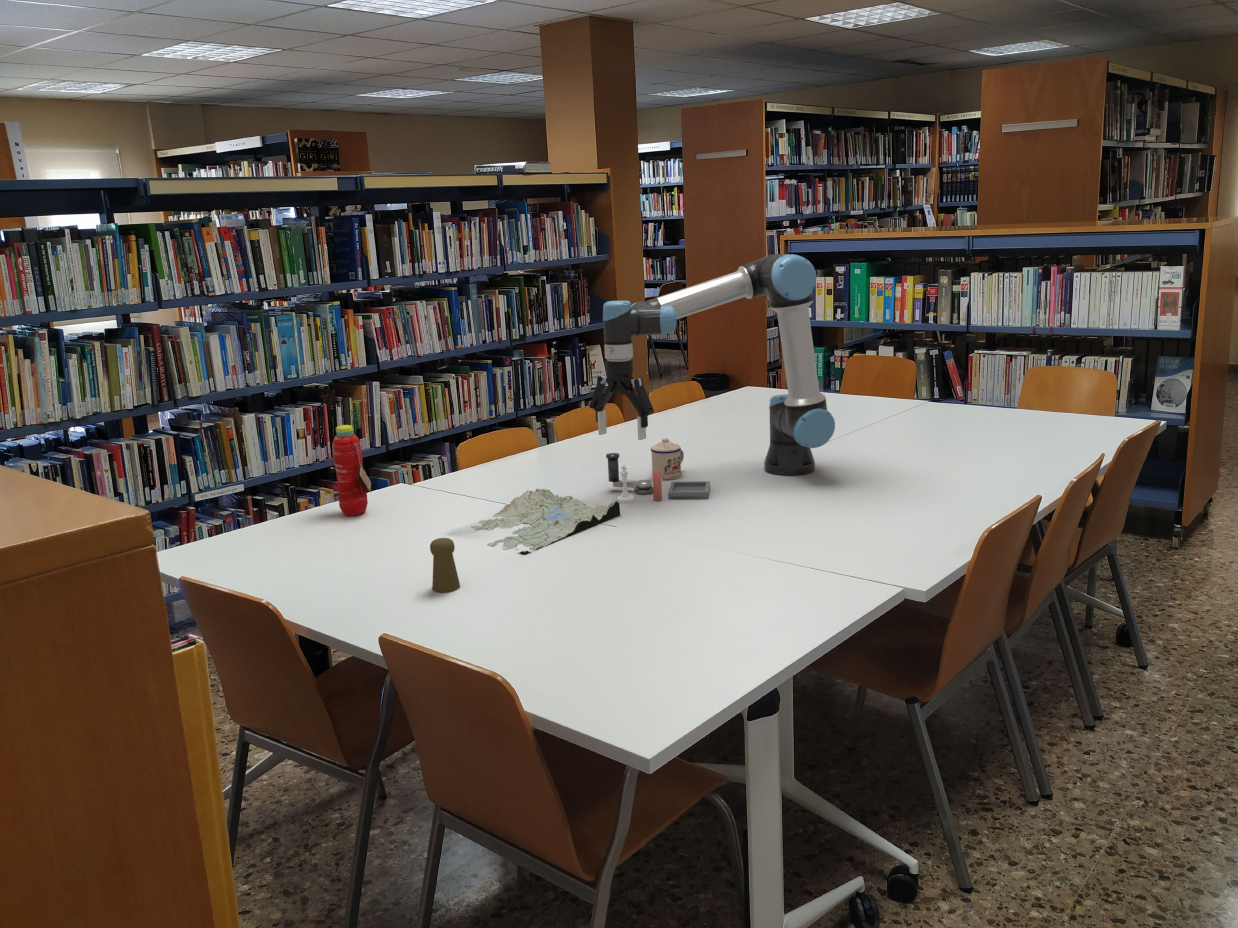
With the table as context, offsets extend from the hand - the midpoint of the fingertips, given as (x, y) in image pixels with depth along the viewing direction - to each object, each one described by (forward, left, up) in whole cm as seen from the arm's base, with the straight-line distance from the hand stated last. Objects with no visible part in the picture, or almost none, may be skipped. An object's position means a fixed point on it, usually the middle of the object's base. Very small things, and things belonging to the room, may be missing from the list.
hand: (622, 436), depth 255 cm
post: (-9, 0, -18) cm, 20 cm away
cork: (+31, +64, -18) cm, 74 cm away
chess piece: (0, 0, -18) cm, 18 cm away
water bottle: (+73, +11, -18) cm, 76 cm away
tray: (-18, -6, -18) cm, 26 cm away
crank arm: (0, -9, -17) cm, 19 cm away
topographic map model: (+21, +21, -19) cm, 36 cm away
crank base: (-5, -8, -18) cm, 20 cm away
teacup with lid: (-11, -26, -18) cm, 33 cm away
